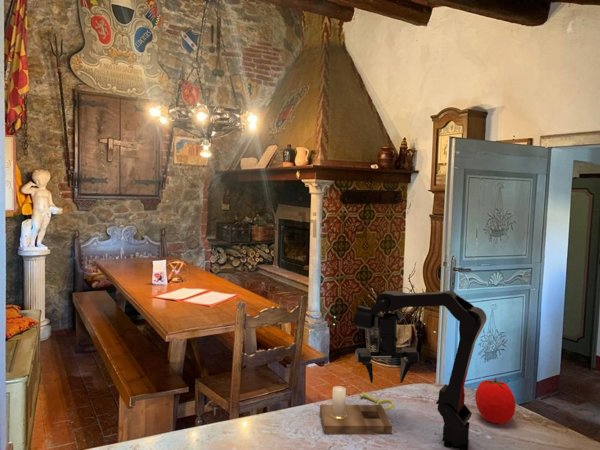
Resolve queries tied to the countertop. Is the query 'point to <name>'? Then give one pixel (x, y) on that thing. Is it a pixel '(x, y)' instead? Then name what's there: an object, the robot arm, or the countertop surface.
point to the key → (378, 400)
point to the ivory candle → (338, 401)
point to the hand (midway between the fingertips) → (386, 382)
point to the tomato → (495, 401)
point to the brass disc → (338, 417)
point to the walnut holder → (356, 420)
